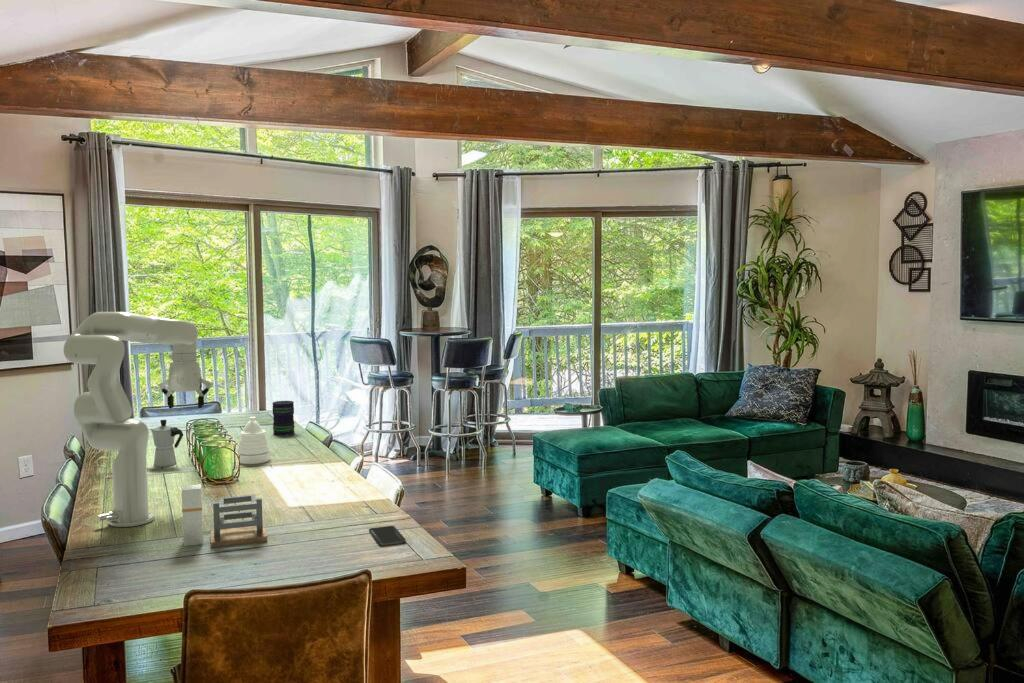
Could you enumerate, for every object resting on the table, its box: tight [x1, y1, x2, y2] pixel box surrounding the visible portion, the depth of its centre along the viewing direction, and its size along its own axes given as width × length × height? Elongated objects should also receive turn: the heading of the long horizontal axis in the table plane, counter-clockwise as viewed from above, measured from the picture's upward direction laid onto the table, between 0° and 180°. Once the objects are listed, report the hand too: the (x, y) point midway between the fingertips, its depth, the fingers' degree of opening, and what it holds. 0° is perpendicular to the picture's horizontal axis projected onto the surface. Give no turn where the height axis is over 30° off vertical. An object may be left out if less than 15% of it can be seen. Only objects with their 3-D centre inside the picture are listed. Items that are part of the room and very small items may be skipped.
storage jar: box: [272, 400, 296, 437], centre depth 385 cm, size 10×10×15 cm
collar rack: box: [210, 494, 268, 548], centre depth 234 cm, size 15×11×11 cm
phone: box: [368, 525, 406, 548], centre depth 235 cm, size 8×1×15 cm
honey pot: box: [236, 416, 271, 465], centre depth 331 cm, size 13×13×18 cm
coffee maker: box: [149, 419, 184, 468], centre depth 324 cm, size 15×9×18 cm, turn 76°
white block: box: [181, 484, 204, 547], centre depth 231 cm, size 5×5×16 cm
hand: (186, 407), depth 279 cm, fingers open, 9 cm apart
